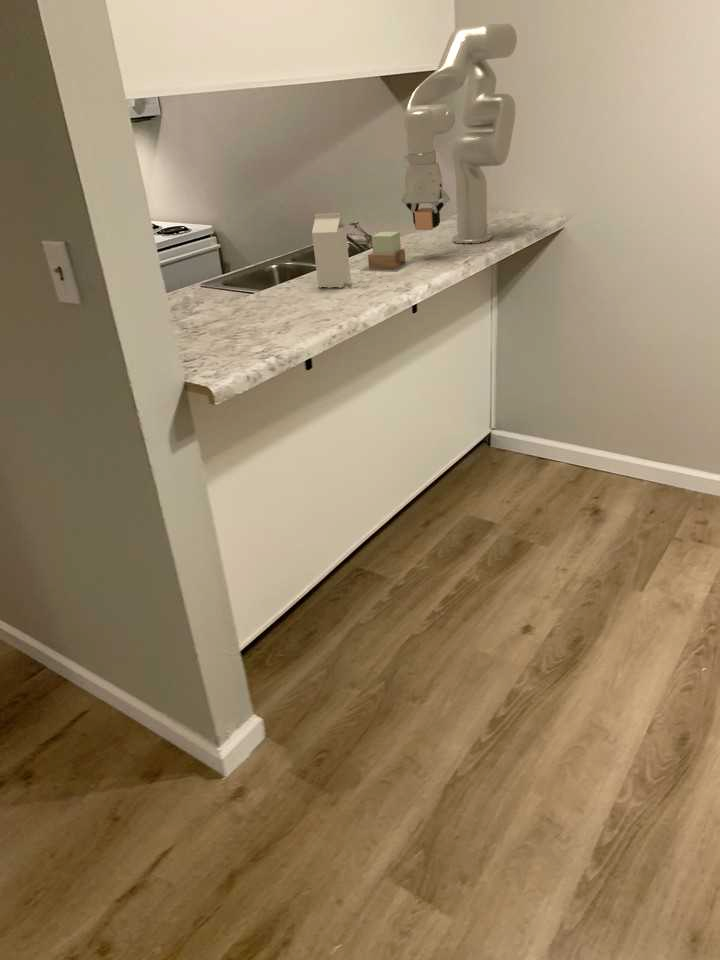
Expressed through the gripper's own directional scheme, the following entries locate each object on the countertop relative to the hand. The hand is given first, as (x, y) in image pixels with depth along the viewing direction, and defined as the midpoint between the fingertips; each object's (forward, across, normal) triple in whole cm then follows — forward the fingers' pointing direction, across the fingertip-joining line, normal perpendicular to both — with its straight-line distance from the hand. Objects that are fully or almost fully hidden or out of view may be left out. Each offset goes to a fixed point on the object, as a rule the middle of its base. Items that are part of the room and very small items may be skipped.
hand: (427, 225), depth 212 cm
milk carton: (+9, -16, -29) cm, 34 cm away
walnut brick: (+9, -9, -10) cm, 16 cm away
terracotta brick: (+1, 0, 0) cm, 1 cm away
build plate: (+10, -9, -10) cm, 17 cm away
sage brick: (+5, -9, -9) cm, 14 cm away
